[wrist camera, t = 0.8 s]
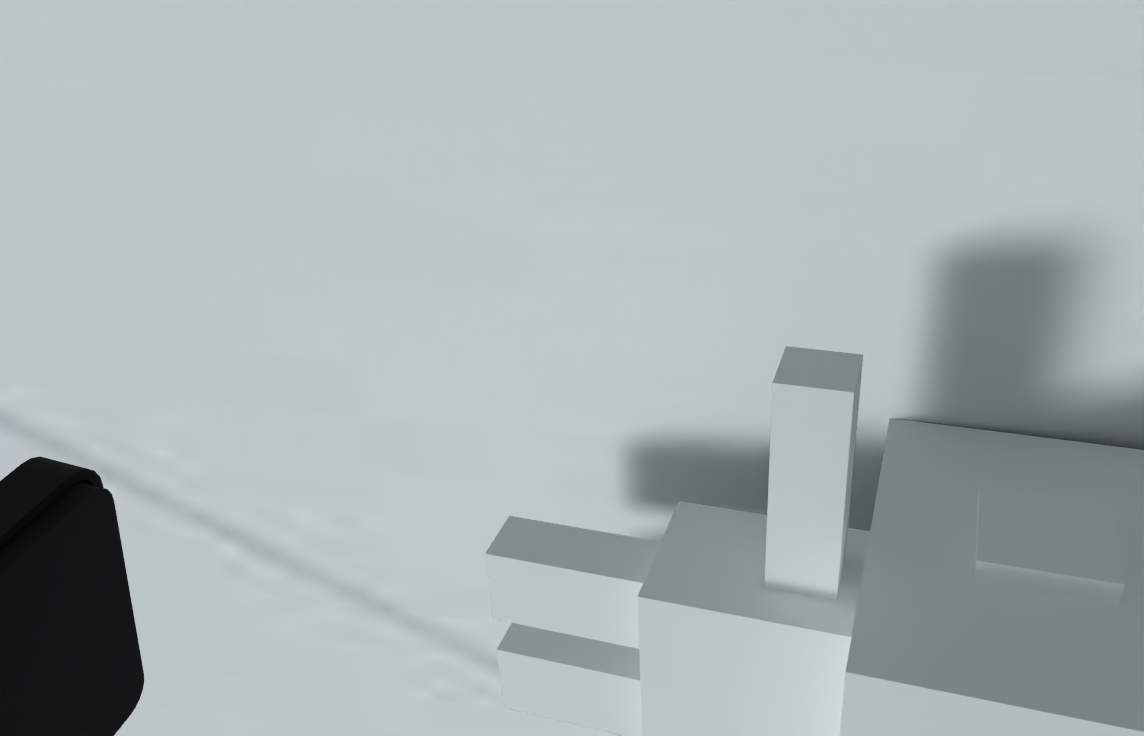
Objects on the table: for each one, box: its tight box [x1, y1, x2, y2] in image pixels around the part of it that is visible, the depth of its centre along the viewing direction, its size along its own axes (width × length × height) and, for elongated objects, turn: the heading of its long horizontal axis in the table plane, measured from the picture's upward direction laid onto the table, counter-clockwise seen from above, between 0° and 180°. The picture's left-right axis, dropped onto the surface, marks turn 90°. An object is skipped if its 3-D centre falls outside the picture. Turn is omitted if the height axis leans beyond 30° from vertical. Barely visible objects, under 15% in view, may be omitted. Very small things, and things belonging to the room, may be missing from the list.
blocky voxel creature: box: [485, 346, 1144, 736], centre depth 37 cm, size 15×25×28 cm
